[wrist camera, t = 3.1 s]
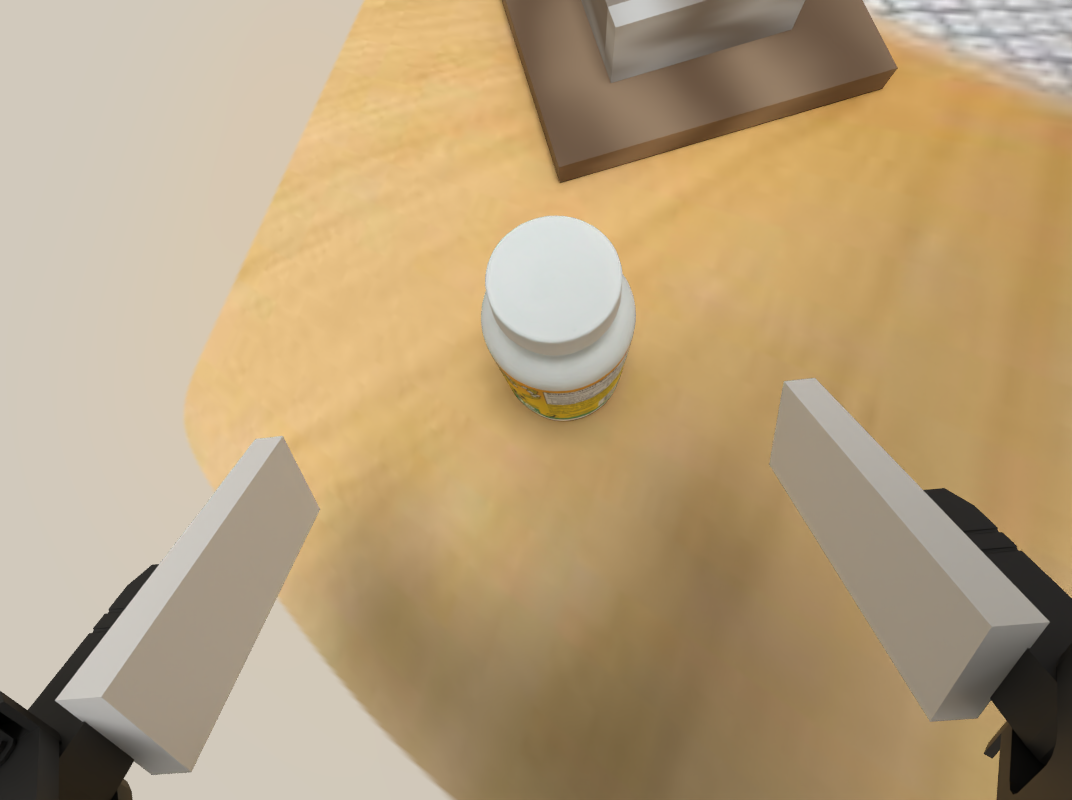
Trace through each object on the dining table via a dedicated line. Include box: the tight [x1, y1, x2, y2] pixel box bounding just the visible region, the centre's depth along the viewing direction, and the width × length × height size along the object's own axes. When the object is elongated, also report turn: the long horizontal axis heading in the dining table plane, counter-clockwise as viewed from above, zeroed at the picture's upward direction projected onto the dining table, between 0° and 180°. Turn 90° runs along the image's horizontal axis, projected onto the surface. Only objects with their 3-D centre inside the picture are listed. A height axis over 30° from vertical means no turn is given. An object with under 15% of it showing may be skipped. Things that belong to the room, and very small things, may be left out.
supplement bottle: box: [481, 216, 636, 421], centre depth 19 cm, size 5×5×10 cm
